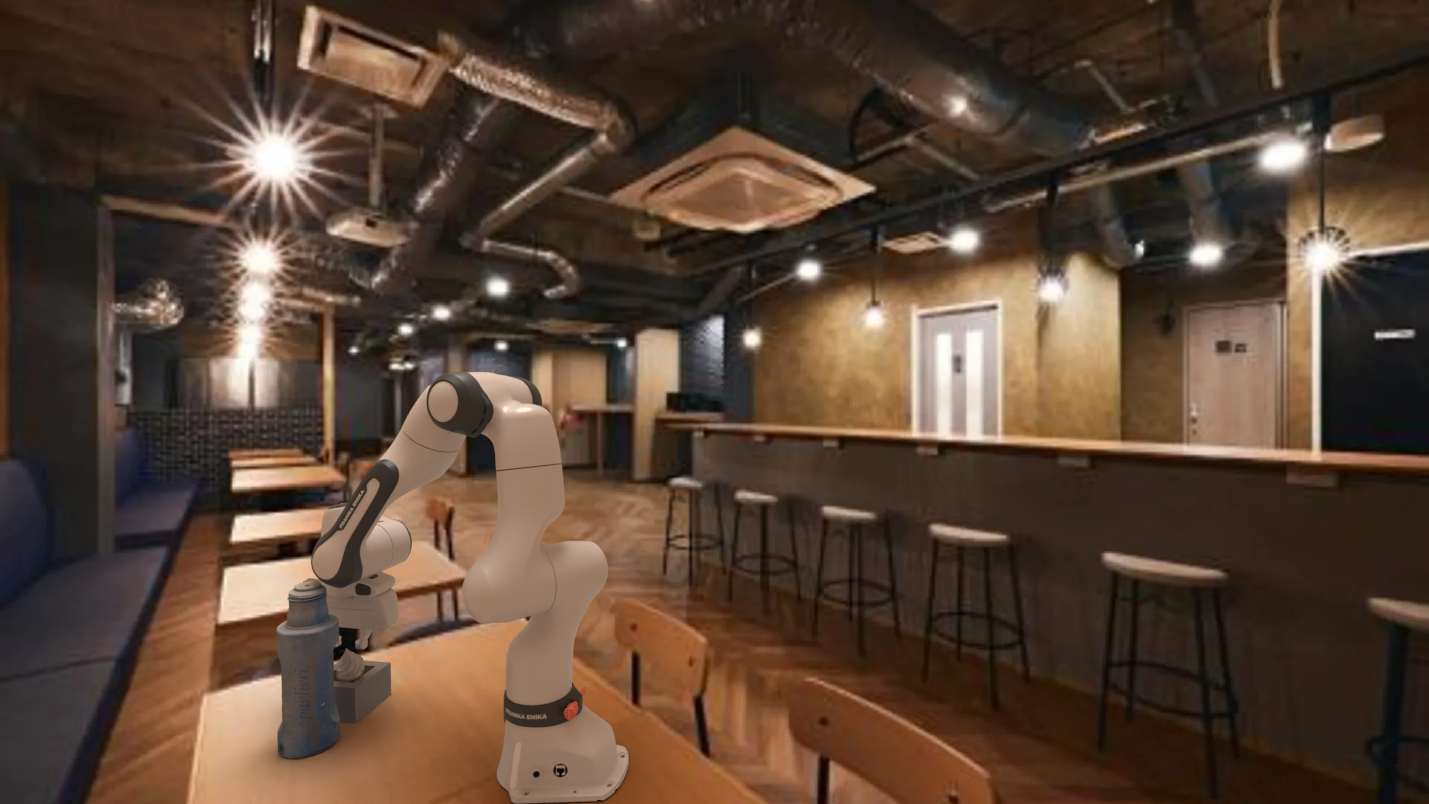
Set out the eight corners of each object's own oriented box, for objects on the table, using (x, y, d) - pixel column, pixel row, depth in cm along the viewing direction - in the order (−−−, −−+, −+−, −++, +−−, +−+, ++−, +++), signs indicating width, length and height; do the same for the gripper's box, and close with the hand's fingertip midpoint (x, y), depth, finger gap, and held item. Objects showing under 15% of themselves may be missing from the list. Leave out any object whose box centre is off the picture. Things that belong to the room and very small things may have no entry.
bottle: (284, 735, 120) (280, 579, 119) (344, 724, 124) (341, 573, 123) (271, 765, 112) (267, 596, 110) (336, 752, 115) (333, 589, 114)
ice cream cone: (374, 692, 134) (365, 646, 127) (352, 710, 130) (341, 664, 123) (358, 679, 136) (349, 633, 128) (336, 697, 132) (324, 650, 124)
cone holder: (391, 694, 136) (390, 662, 135) (355, 723, 125) (355, 688, 124) (343, 690, 137) (343, 658, 137) (304, 718, 126) (303, 683, 126)
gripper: (288, 582, 128) (290, 650, 129) (383, 588, 125) (384, 657, 126) (312, 572, 134) (313, 637, 135) (402, 578, 131) (403, 643, 132)
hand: (348, 647), depth 130 cm, fingers open, 4 cm apart
